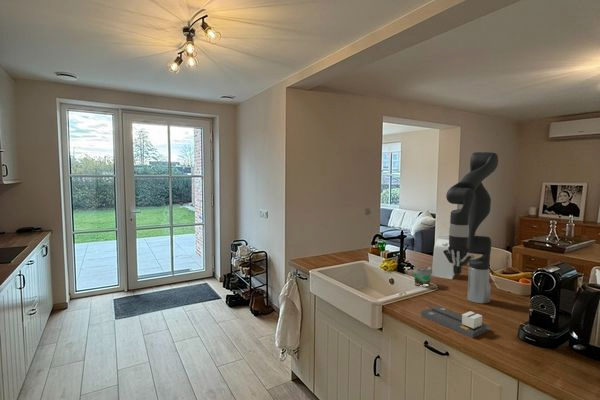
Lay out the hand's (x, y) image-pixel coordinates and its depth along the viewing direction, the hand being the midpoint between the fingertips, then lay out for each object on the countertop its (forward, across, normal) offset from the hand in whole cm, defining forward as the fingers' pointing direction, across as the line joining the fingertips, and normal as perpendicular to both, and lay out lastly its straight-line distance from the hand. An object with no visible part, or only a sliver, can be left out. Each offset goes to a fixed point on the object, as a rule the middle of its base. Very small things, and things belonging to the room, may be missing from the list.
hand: (457, 274), depth 138 cm
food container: (+22, -36, +28) cm, 51 cm away
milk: (+23, -43, +54) cm, 73 cm away
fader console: (+21, 0, -1) cm, 21 cm away
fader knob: (+19, +8, -1) cm, 21 cm away
